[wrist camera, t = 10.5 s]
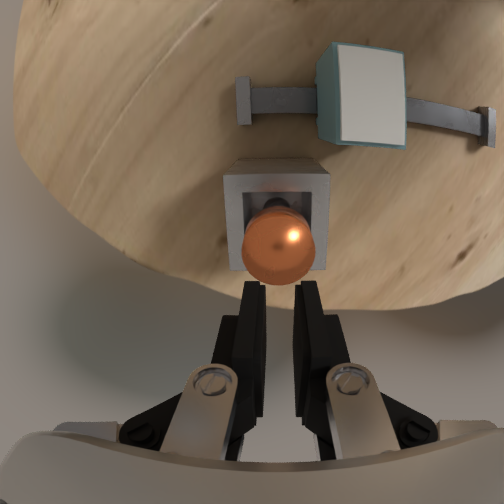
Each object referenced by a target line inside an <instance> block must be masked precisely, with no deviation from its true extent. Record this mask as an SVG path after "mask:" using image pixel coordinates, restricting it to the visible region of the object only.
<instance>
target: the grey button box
mask: <svg viewBox="0 0 504 504" xmlns="http://www.w3.org/2000/svg"><path fill="white" fill-rule="evenodd" d="M223 184H224V199H225V213H226V227H227V240H228V253H229V265H230V271H248V270H247V269H246V267H245V265H244V263H243V260H242V255H241V249H242V243H243V239H244V235H245V231H246V228H247V225H248V223H249V221H250V220H251V219H252V217H253V216H254V215H255V214H257V213H258V212H259V211H261V210H263V207H264V204H265V203H266V201H267V200H269V199H270V198H273V197H281V198H284V199H285V200H287V201H288V203H289V204H290V207H291V209H293V210H295V211H297V212H298V213H300V214H301V215H302V216H303V217H304V218H305V220H306V221H307V223H308V225H309V228H310V231H311V234H312V237H313V240H314V244H315V259H314V262H313V265H312V267H311V268H310V270H325V268H326V255H327V240H328V223H329V201H330V173H329V172H327V171H326V170H325V169H324V168H323V167H322V166H321V165H320V164H319V163H318V162H316V161H315V160H314V159H313V158H255V159H238V160H237V161H236V162H235V163H234V164H233V165H232V166H231V167H230V168H229V169H228V170H227V172H226V173H225V174H224V175H223Z"/></svg>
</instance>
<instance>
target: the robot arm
mask: <svg viewBox="0 0 504 504" xmlns="http://www.w3.org/2000/svg"><path fill="white" fill-rule="evenodd" d="M265 363H266V287H265V285H260V281H245V283H244V288H243V294H242V300H241V305H240V311H239V315H238V316H235V315H224V316H223V317H222V320H221V324H220V328H219V333H218V337H217V341H216V345H215V349H214V353H213V357H212V361H211V364H208V365H203V366H201V367H199V368H197V369H196V370H194V371H193V372H192V373H191V375H190V376H189V378H188V380H187V383H186V385H185V388H184V390H183V392H182V393H180V394H178V395H176V396H174V397H172V398H170V399H168V400H166V401H165V402H163V403H161V404H159V405H157V406H155V407H153V408H151V409H149V410H147V411H145V412H143V413H141V414H138V415H136V416H135V417H132V418H131V419H129V420H127V421H126V422H125V423H124V424H118V423H117V422H116V421H114V422H64V423H61V424H60V425H58V426H57V427H56V428H55V429H54V430H53V431H39V432H33V433H29V434H27V435H25V436H23V437H22V438H20V439H19V440H18V441H17V442H16V443H15V444H14V445H13V447H12V448H11V449H10V451H9V452H8V454H7V455H6V457H5V458H4V460H3V461H2V463H1V465H0V504H504V428H497V426H496V425H495V424H494V423H492V422H490V421H486V420H480V421H479V420H475V421H474V420H472V421H464V420H462V421H461V420H460V421H458V420H439V422H438V423H434V422H433V421H432V420H431V419H430V418H428V417H427V416H425V415H423V414H421V413H419V412H417V411H415V410H413V409H411V408H409V407H407V406H406V405H404V404H402V403H400V402H398V401H396V400H394V399H392V398H390V397H389V396H387V395H385V394H383V393H381V392H380V391H379V389H378V386H377V383H376V381H375V378H374V376H373V375H372V373H371V372H370V371H369V370H368V369H367V368H366V367H364V366H362V365H359V364H355V363H351V362H350V358H349V354H348V350H347V346H346V342H345V339H344V335H343V332H342V328H341V324H340V321H339V317H338V315H337V314H336V315H324V314H323V309H322V304H321V300H320V296H319V291H318V287H317V283H316V281H301V285H295V304H294V325H293V363H294V382H295V408H296V417H302V425H305V427H306V428H308V429H309V430H310V431H312V432H313V433H314V443H315V450H316V456H317V461H315V462H314V461H313V462H289V463H288V462H287V463H267V462H266V463H263V462H240V457H241V452H242V446H243V442H244V434H245V433H246V432H248V431H249V430H250V429H252V428H254V426H256V419H257V417H263V404H264V403H263V402H264V385H265V365H266V364H265Z"/></svg>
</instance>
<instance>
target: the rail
mask: <svg viewBox="0 0 504 504" xmlns="http://www.w3.org/2000/svg"><path fill="white" fill-rule="evenodd" d="M235 83H236V105H237V125H248V124H253V116H252V114H269V113H307V114H318V106H317V88H306V87H266V88H251V79H250V77H249V76H246V77H235ZM406 108H407V122H413V123H419V124H425V125H431V126H437V127H442V128H447V129H452V130H457V131H461V132H466V133H470V134H474V135H478V144H480V145H484V146H488V147H492V148H495V137H496V109H493V108H490V107H478V113H474V112H471V111H467V110H464V109H460V108H456V107H452V106H448V105H443V104H439V103H434V102H430V101H425V100H419V99H414V98H408V97H406Z"/></svg>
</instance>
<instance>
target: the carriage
mask: <svg viewBox="0 0 504 504" xmlns="http://www.w3.org/2000/svg"><path fill="white" fill-rule="evenodd" d="M315 85H317V106H318V118H316V125H318V138H319V139H322V140H325V141H328V142H330V143H333V144H338V145H357V146H372V147H384V148H395V149H404V150H406V128H407V108H406V78H405V63H404V52H401V51H396V50H391V49H385V48H379V47H373V46H366V45H359V44H351V43H341V42H332V43H331V44H330V45H329V47H328V48H327V49H326V51H325V52H324V53H323V55H322V56H321V57H320V59H319V60H318V61H317V63H316V77H315Z"/></svg>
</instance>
